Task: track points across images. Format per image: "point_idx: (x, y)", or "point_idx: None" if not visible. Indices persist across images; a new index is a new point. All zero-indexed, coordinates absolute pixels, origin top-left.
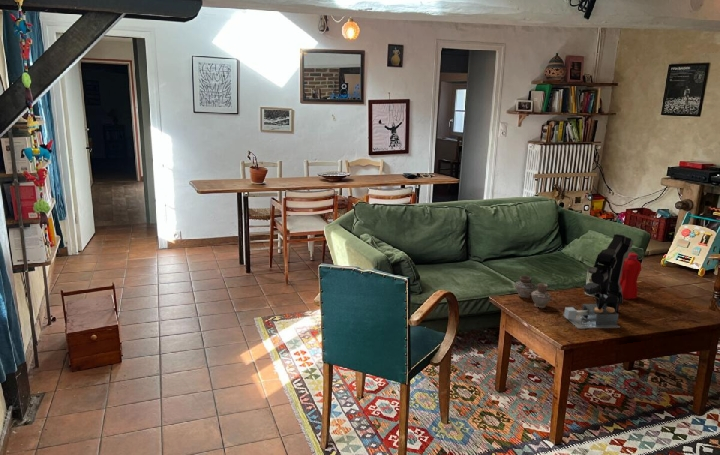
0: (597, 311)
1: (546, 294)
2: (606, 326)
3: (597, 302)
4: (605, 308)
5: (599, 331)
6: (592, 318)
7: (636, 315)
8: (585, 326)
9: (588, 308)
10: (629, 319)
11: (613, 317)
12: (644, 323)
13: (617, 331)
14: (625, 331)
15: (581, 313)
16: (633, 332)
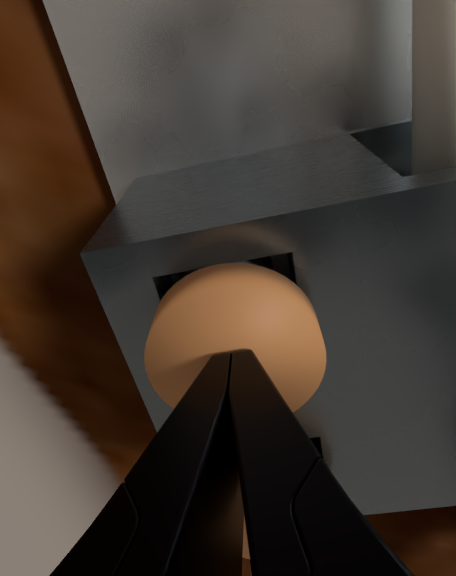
0: (162, 303)
1: None
2: None
3: (243, 470)
4: (403, 460)
5: (29, 190)
6: (222, 180)
7: (450, 567)
8: (90, 11)
9: (437, 182)
10: (380, 516)
11: None
12: None
13: (99, 369)
14: (122, 426)
15: (419, 14)
16: (119, 469)
